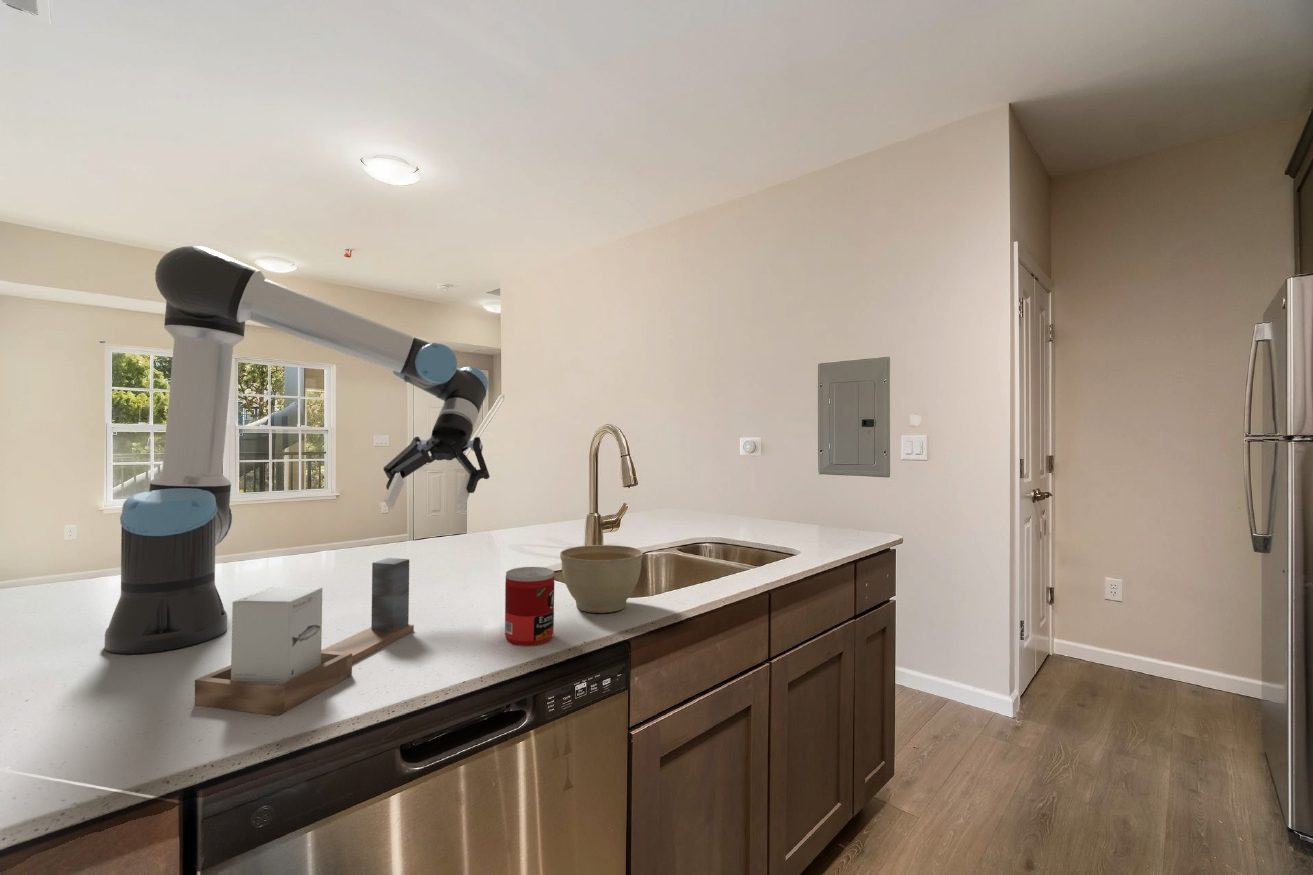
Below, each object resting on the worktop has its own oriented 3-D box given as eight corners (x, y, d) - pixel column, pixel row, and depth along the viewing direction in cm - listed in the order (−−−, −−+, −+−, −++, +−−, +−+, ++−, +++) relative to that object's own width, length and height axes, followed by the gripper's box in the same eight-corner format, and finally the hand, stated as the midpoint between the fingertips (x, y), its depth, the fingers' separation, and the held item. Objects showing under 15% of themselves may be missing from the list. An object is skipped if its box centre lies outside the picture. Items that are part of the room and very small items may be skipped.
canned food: (542, 648, 91) (543, 578, 91) (495, 644, 93) (496, 575, 93) (560, 632, 99) (561, 568, 99) (516, 629, 100) (517, 565, 100)
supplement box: (287, 704, 71) (289, 601, 71) (228, 703, 71) (229, 600, 71) (323, 679, 79) (324, 586, 79) (268, 678, 79) (270, 585, 79)
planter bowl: (655, 601, 118) (656, 548, 118) (618, 624, 103) (619, 563, 103) (586, 592, 125) (587, 541, 125) (542, 612, 110) (543, 554, 110)
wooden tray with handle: (194, 704, 70) (195, 605, 70) (367, 626, 100) (367, 556, 100) (277, 715, 68) (279, 613, 68) (429, 632, 97) (430, 560, 97)
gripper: (517, 437, 125) (495, 517, 110) (403, 436, 126) (366, 516, 111) (510, 411, 119) (486, 491, 104) (391, 411, 120) (350, 491, 105)
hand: (424, 504), depth 108 cm, fingers open, 13 cm apart
